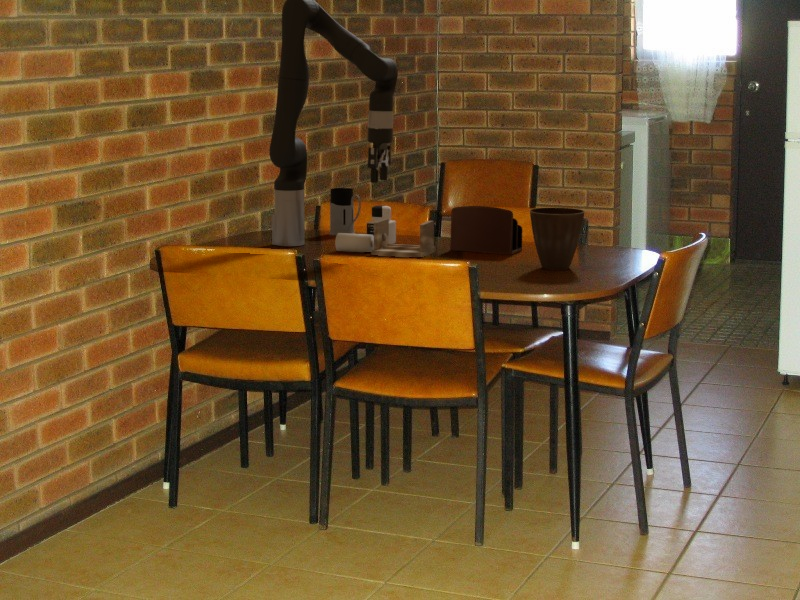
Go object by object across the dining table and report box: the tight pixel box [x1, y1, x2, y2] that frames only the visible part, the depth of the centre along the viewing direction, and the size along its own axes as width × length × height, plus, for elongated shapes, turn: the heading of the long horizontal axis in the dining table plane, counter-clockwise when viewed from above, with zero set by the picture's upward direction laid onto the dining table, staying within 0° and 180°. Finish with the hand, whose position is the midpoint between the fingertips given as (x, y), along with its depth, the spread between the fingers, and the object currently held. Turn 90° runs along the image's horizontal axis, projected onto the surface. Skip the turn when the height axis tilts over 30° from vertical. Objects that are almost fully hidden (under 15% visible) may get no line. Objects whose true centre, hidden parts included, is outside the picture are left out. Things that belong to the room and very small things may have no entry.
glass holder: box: [328, 187, 362, 237], centre depth 398 cm, size 9×14×15 cm, turn 40°
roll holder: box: [371, 219, 436, 258], centre depth 359 cm, size 15×14×10 cm
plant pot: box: [529, 207, 586, 271], centre depth 333 cm, size 15×15×16 cm
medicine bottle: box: [366, 204, 397, 244], centre depth 379 cm, size 7×7×12 cm
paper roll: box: [334, 233, 374, 253], centre depth 363 cm, size 11×6×6 cm, turn 72°
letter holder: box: [449, 205, 524, 256], centre depth 366 cm, size 10×20×14 cm, turn 65°
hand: (379, 181), depth 360 cm, fingers open, 8 cm apart
